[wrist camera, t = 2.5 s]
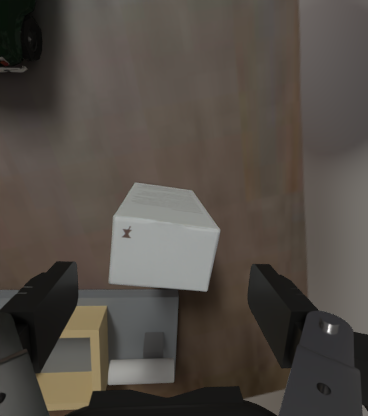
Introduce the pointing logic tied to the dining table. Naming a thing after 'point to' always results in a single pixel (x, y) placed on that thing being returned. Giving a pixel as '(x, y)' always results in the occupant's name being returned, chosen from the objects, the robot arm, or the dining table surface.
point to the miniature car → (18, 34)
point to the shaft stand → (110, 344)
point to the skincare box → (162, 240)
